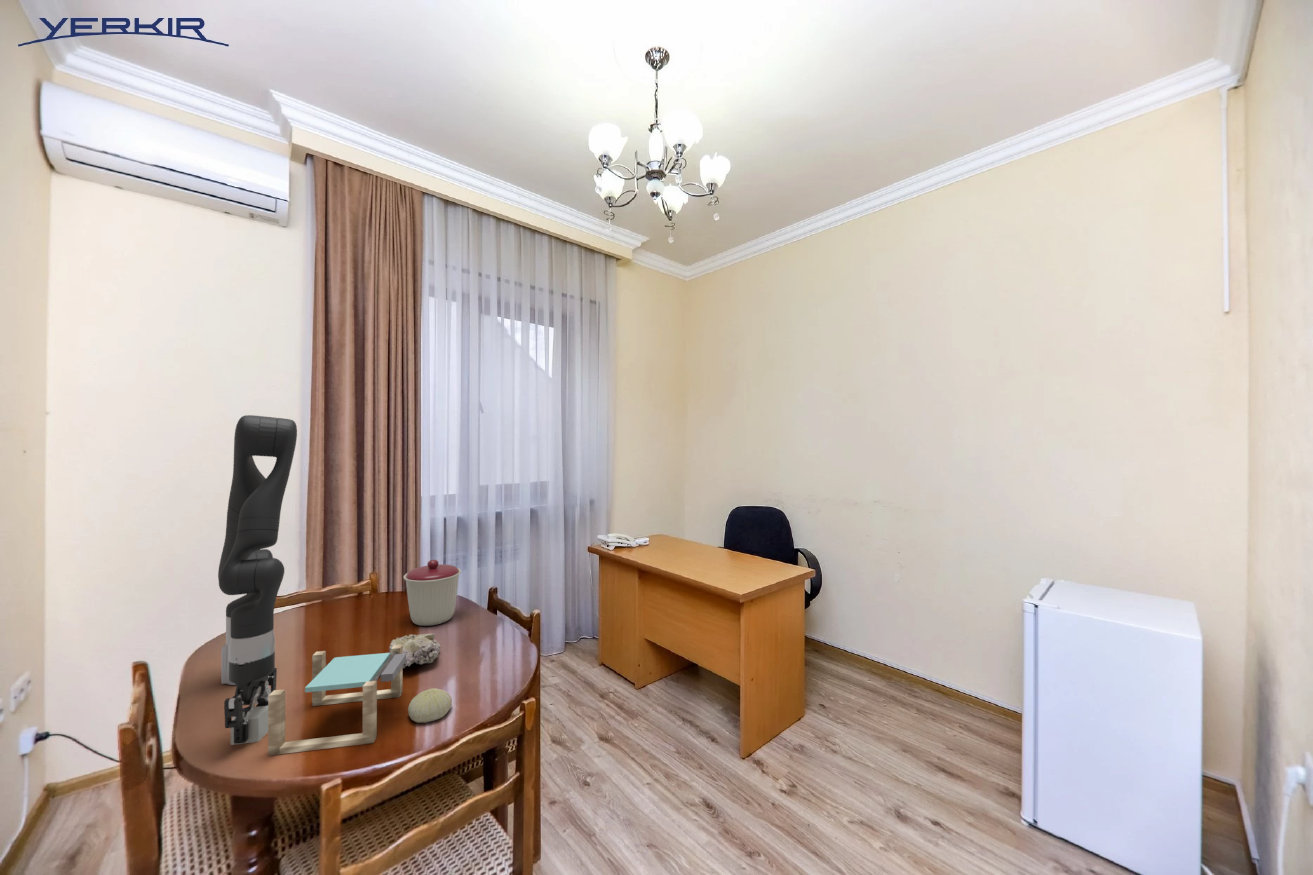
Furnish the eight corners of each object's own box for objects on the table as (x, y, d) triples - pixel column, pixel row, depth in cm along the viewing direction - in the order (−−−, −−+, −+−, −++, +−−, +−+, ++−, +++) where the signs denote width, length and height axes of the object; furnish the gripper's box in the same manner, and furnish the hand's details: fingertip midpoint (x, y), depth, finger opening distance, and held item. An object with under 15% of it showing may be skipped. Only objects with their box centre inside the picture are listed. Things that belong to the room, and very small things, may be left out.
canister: (468, 621, 165) (468, 560, 165) (411, 635, 153) (412, 570, 153) (450, 607, 179) (451, 551, 179) (397, 619, 167) (397, 559, 167)
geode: (421, 665, 144) (372, 678, 131) (419, 632, 147) (371, 642, 134) (460, 655, 138) (412, 667, 125) (456, 621, 141) (410, 630, 128)
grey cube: (230, 745, 99) (230, 721, 99) (245, 730, 104) (245, 707, 104) (258, 741, 100) (258, 718, 100) (272, 727, 105) (272, 704, 105)
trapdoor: (408, 656, 117) (408, 649, 117) (389, 685, 103) (389, 677, 103) (334, 662, 113) (334, 656, 113) (304, 693, 99) (304, 686, 99)
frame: (268, 755, 95) (268, 695, 95) (316, 701, 115) (316, 651, 115) (373, 742, 100) (373, 685, 100) (402, 692, 119) (402, 644, 119)
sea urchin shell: (406, 723, 103) (408, 684, 108) (407, 734, 108) (409, 697, 114) (452, 713, 107) (451, 676, 112) (451, 725, 112) (451, 689, 117)
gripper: (252, 640, 108) (252, 714, 108) (207, 671, 94) (207, 755, 94) (290, 638, 110) (290, 710, 110) (252, 667, 96) (251, 750, 96)
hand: (252, 731), depth 102 cm, fingers open, 7 cm apart
